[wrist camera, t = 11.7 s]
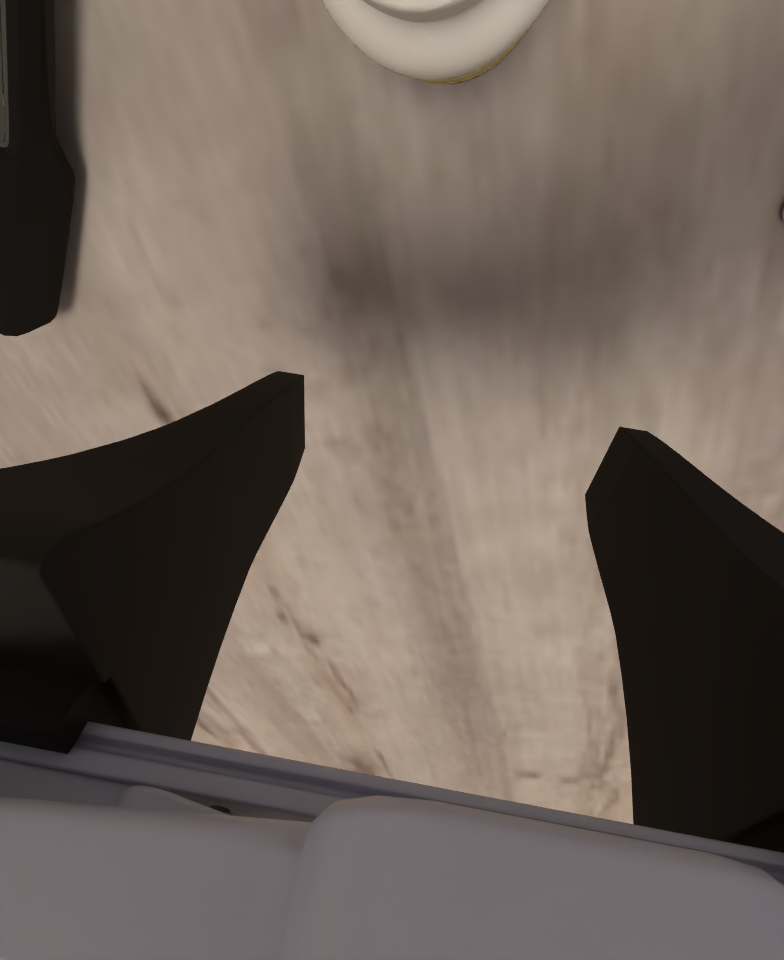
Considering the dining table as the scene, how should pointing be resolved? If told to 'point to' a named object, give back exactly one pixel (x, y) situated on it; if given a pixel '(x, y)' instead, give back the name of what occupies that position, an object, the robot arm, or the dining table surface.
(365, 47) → the supplement bottle
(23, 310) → the electric trimmer
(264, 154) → the dining table surface
